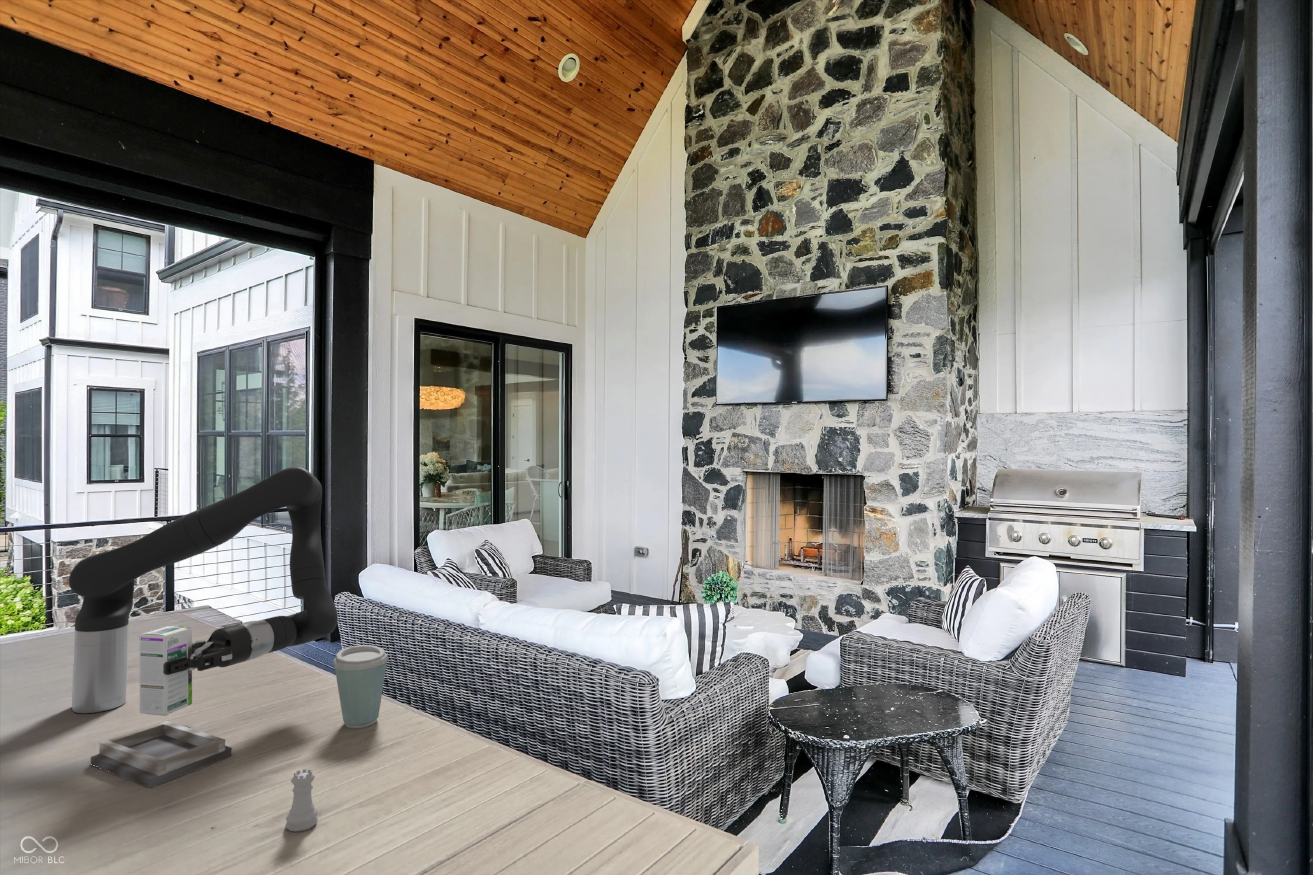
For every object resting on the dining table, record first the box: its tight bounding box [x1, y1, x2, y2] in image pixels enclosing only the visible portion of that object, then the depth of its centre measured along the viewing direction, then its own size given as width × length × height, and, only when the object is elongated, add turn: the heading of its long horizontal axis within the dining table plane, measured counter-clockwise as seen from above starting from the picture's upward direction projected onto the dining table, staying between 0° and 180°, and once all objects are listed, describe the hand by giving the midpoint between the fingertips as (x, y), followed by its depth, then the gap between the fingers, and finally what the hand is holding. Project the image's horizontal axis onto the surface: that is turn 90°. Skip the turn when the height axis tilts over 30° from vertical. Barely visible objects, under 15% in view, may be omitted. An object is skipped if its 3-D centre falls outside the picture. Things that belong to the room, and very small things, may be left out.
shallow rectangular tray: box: [90, 720, 233, 789], centre depth 128 cm, size 18×14×4 cm
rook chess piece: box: [285, 768, 319, 833], centre depth 107 cm, size 4×4×8 cm
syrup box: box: [138, 625, 193, 717], centre depth 128 cm, size 6×6×14 cm
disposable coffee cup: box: [332, 644, 389, 729], centre depth 147 cm, size 11×11×15 cm
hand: (153, 666), depth 126 cm, fingers closed on syrup box, 6 cm apart
